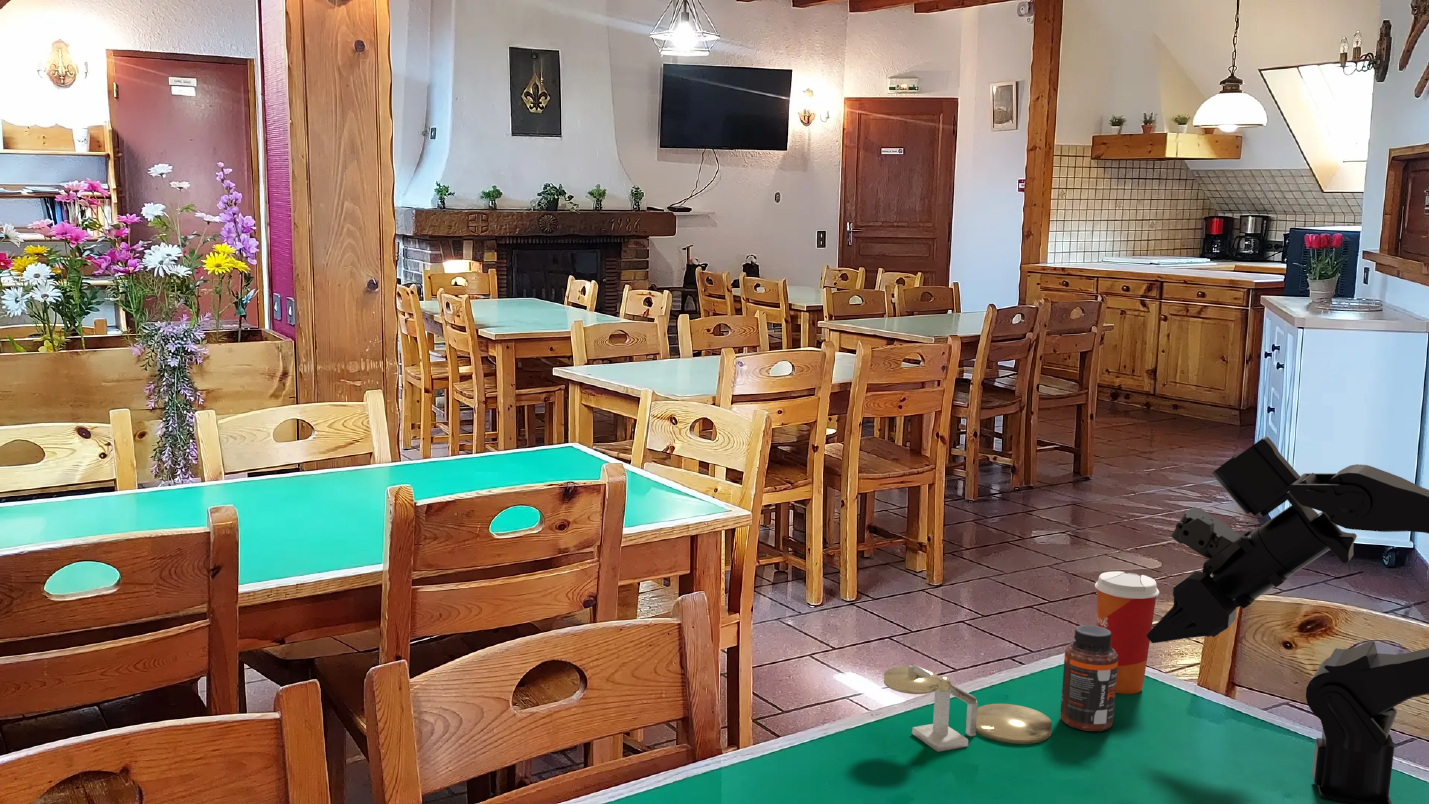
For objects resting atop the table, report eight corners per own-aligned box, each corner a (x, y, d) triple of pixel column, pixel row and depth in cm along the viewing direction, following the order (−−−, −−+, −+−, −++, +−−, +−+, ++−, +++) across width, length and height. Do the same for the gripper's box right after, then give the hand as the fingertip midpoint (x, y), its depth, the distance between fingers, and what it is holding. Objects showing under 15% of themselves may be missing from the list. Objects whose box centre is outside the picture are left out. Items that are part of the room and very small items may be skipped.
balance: (1017, 707, 147) (1022, 632, 145) (1068, 736, 138) (1073, 657, 137) (863, 733, 138) (867, 653, 136) (907, 766, 130) (911, 682, 128)
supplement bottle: (1115, 736, 139) (1123, 641, 137) (1061, 730, 140) (1068, 636, 139) (1109, 715, 145) (1117, 624, 143) (1057, 710, 146) (1064, 619, 144)
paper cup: (1095, 670, 160) (1103, 566, 158) (1156, 682, 156) (1165, 576, 154) (1080, 689, 153) (1088, 581, 151) (1143, 702, 149) (1152, 592, 147)
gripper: (1244, 475, 138) (1138, 552, 146) (1202, 504, 123) (1086, 588, 131) (1313, 555, 135) (1201, 629, 143) (1279, 594, 120) (1155, 675, 128)
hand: (1161, 628), depth 136 cm, fingers open, 9 cm apart
